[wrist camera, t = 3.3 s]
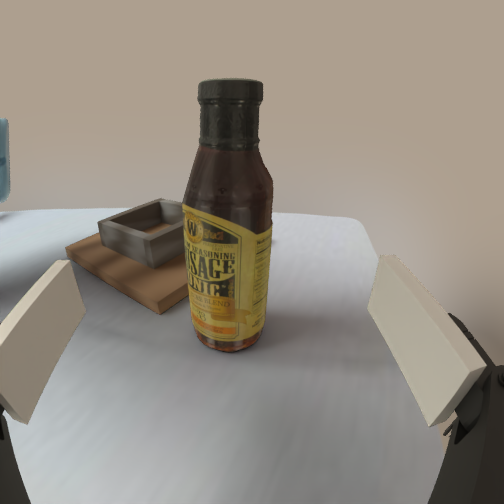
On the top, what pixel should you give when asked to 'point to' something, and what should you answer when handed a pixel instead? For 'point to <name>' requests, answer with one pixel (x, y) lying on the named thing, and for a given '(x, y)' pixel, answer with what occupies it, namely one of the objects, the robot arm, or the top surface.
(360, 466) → the top surface
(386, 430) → the top surface
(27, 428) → the top surface
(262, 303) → the sauce bottle
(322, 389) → the top surface
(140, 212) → the socket block
